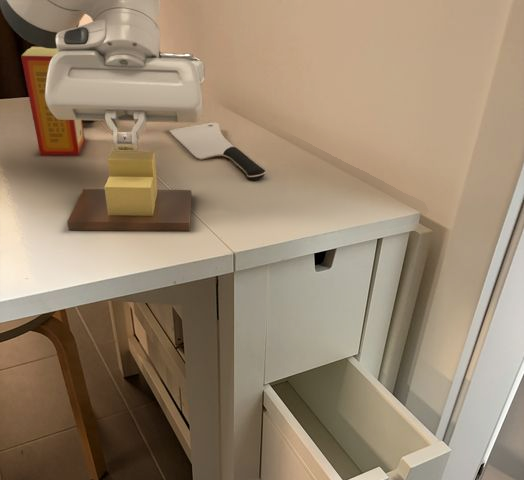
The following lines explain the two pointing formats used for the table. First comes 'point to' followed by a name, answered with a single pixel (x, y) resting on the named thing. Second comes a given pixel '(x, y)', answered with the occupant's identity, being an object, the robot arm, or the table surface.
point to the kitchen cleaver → (215, 147)
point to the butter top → (130, 196)
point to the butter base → (133, 165)
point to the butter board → (164, 217)
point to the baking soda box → (46, 124)
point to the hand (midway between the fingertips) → (125, 148)
